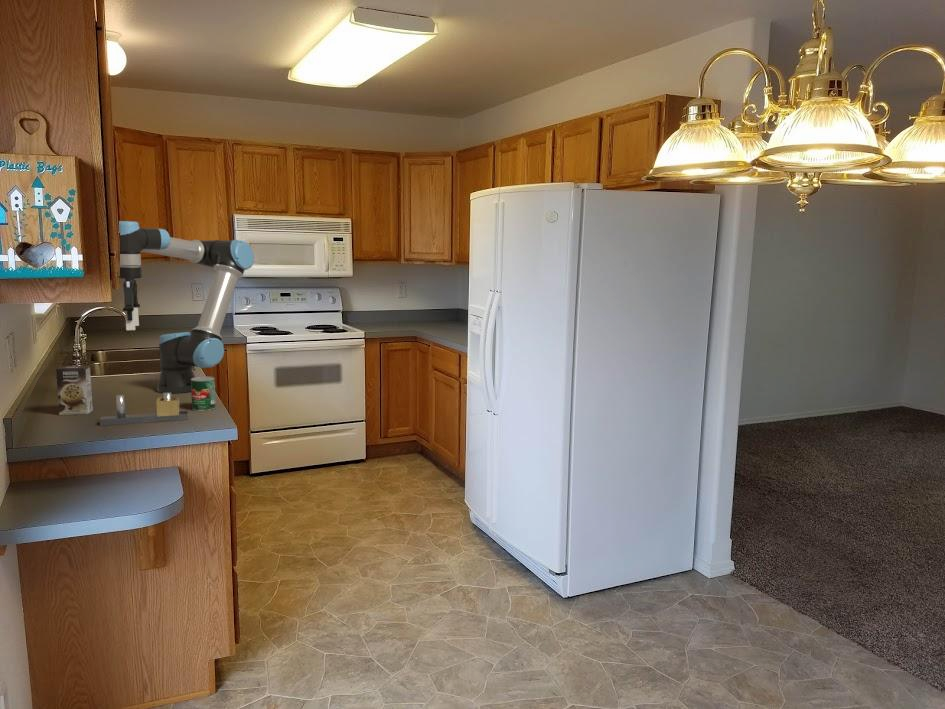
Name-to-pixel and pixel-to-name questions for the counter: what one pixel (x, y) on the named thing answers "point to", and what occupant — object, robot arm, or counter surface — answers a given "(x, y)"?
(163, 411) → the collar
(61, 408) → the cookie box
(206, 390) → the canned tomato
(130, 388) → the counter surface
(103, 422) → the grey peg stand
